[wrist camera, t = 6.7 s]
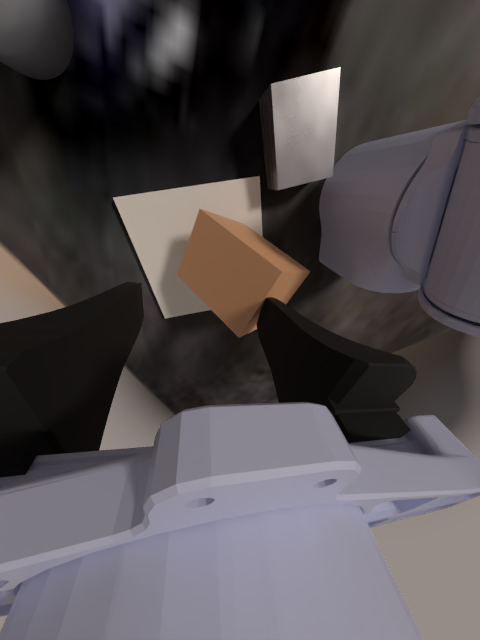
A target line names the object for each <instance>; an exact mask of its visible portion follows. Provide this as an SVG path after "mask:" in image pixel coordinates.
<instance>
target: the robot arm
mask: <svg viewBox="0 0 480 640" xmlns="http://www.w3.org/2000/svg"><path fill="white" fill-rule="evenodd" d="M319 214H320V221H321V230H322V233H321V244H320V252H319V262H321V263H322V264H324V265H325V266H327V267H328V268H329V269H331V270H332V271H334V272H335V273H337V274H338V275H340V276H341V277H343V278H344V279H345V280H347V281H348V282H350V283H352V284H353V285H356V286H358V287H361V288H364V289H367V290H371V291H376V292H384V293H403V292H410V291H415V290H418V289H419V292H418V300H419V303H420V305H421V307H422V308H423V310H424V311H425V312H426V313H427V314H429V315H430V316H431V317H432V318H434V319H435V320H437V321H439V322H441V323H442V324H444V325H446V326H448V327H451V328H453V329H455V330H458V331H461V332H464V333H467V334H470V335H473V336H477V337H480V97H479V98H478V99H476V100H475V101H474V102H473V103H472V105H471V107H470V109H469V113H468V116H467V120H464V121H459V122H455V123H451V124H446V125H442V126H437V127H433V128H429V129H424V130H420V131H416V132H411V133H407V134H402V135H398V136H394V137H389V138H385V139H381V140H376V141H372V142H368V143H364V144H360V145H358V146H357V147H355V148H353V149H351V150H350V151H349V152H347V153H346V154H345V155H343V156H342V158H341V159H340V160H339V161H338V162H337V163H336V164H335V166H334V167H333V177H329V178H327V179H326V181H325V183H324V186H323V188H322V191H321V196H320V201H319ZM143 318H144V311H143V299H142V287H141V283H135V282H126V283H123V284H121V285H118V286H116V287H114V288H112V289H110V290H108V291H105V292H103V293H101V294H99V295H96V296H94V297H91V298H89V299H86V300H84V301H82V302H79V303H76V304H74V305H71V306H68V307H65V308H62V309H58V310H55V311H52V312H48V313H44V314H40V315H36V316H32V317H28V318H23V319H19V320H15V321H10V322H5V323H0V616H5V615H8V616H7V618H6V620H5V623H4V625H3V627H2V629H1V632H0V640H424V639H423V637H422V635H421V633H420V631H419V628H418V626H417V624H416V622H415V620H414V618H413V616H412V614H411V612H410V610H409V608H408V606H407V604H406V602H405V600H404V598H403V595H402V593H401V591H400V589H399V587H398V585H397V583H396V581H395V579H394V577H393V575H392V573H391V571H390V569H389V567H388V565H387V562H386V561H385V558H384V556H383V554H382V552H381V550H380V548H379V546H378V544H377V542H376V540H375V538H374V536H373V534H372V532H371V530H370V528H372V527H376V526H380V525H383V524H387V523H391V522H394V521H398V520H402V519H405V518H409V517H413V516H417V515H421V514H425V513H429V512H433V511H437V510H442V509H445V508H448V507H451V506H454V505H456V504H459V503H461V502H464V501H467V500H470V499H472V498H475V497H477V496H480V461H479V460H478V459H477V458H476V457H475V456H474V455H473V454H472V453H471V452H470V451H469V450H468V449H467V448H466V447H465V446H464V445H463V444H462V443H461V442H460V441H459V440H458V439H457V438H456V437H455V436H454V435H453V434H452V433H451V432H450V431H449V430H448V429H447V428H446V427H445V426H444V425H443V424H442V423H441V422H440V421H439V420H438V419H437V418H436V417H435V416H434V415H419V416H412V417H410V418H407V419H406V420H404V421H403V420H402V419H401V417H400V416H399V415H398V414H397V413H396V412H398V411H399V410H400V408H399V407H398V405H397V404H396V403H395V402H394V401H395V400H396V399H397V398H398V397H399V396H400V395H401V394H403V392H405V391H406V390H407V389H408V388H409V387H410V386H411V385H412V384H413V382H414V380H415V379H416V374H417V371H416V368H415V367H414V366H413V365H412V364H410V363H409V362H408V361H407V360H406V359H405V358H403V357H401V356H398V355H395V354H391V353H388V352H384V351H381V350H377V349H374V348H371V347H368V346H365V345H362V344H359V343H356V342H354V341H351V340H349V339H346V338H344V337H341V336H339V335H337V334H335V333H332V332H330V331H328V330H326V329H324V328H323V327H321V326H319V325H317V324H315V323H313V322H312V321H310V320H309V319H307V318H305V317H304V316H302V315H301V314H299V313H298V312H296V311H295V310H293V309H292V308H290V307H289V306H287V305H286V304H284V303H283V302H281V301H280V300H278V299H276V298H273V297H267V298H266V299H265V301H264V304H263V306H262V308H261V311H260V314H259V317H258V321H257V324H256V325H257V330H258V335H259V339H260V342H261V345H262V347H263V350H264V353H265V355H266V358H267V361H268V363H269V366H270V369H271V372H272V375H273V379H274V383H275V388H276V392H277V397H278V401H279V403H260V404H231V405H207V406H202V407H196V408H191V409H185V410H183V411H181V412H180V413H178V414H176V415H174V416H172V417H171V418H169V419H167V420H166V421H165V422H163V423H162V424H161V426H160V428H159V430H158V432H157V434H156V437H155V441H154V446H152V447H140V448H128V449H115V450H102V451H99V448H100V444H101V440H102V436H103V432H104V429H105V425H106V422H107V418H108V414H109V411H110V407H111V404H112V400H113V397H114V394H115V391H116V387H117V384H118V381H119V378H120V375H121V372H122V370H123V367H124V365H125V363H126V360H127V358H128V356H129V354H130V352H131V350H132V348H133V345H134V343H135V341H136V339H137V337H138V334H139V332H140V329H141V325H142V322H143Z"/></svg>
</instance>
